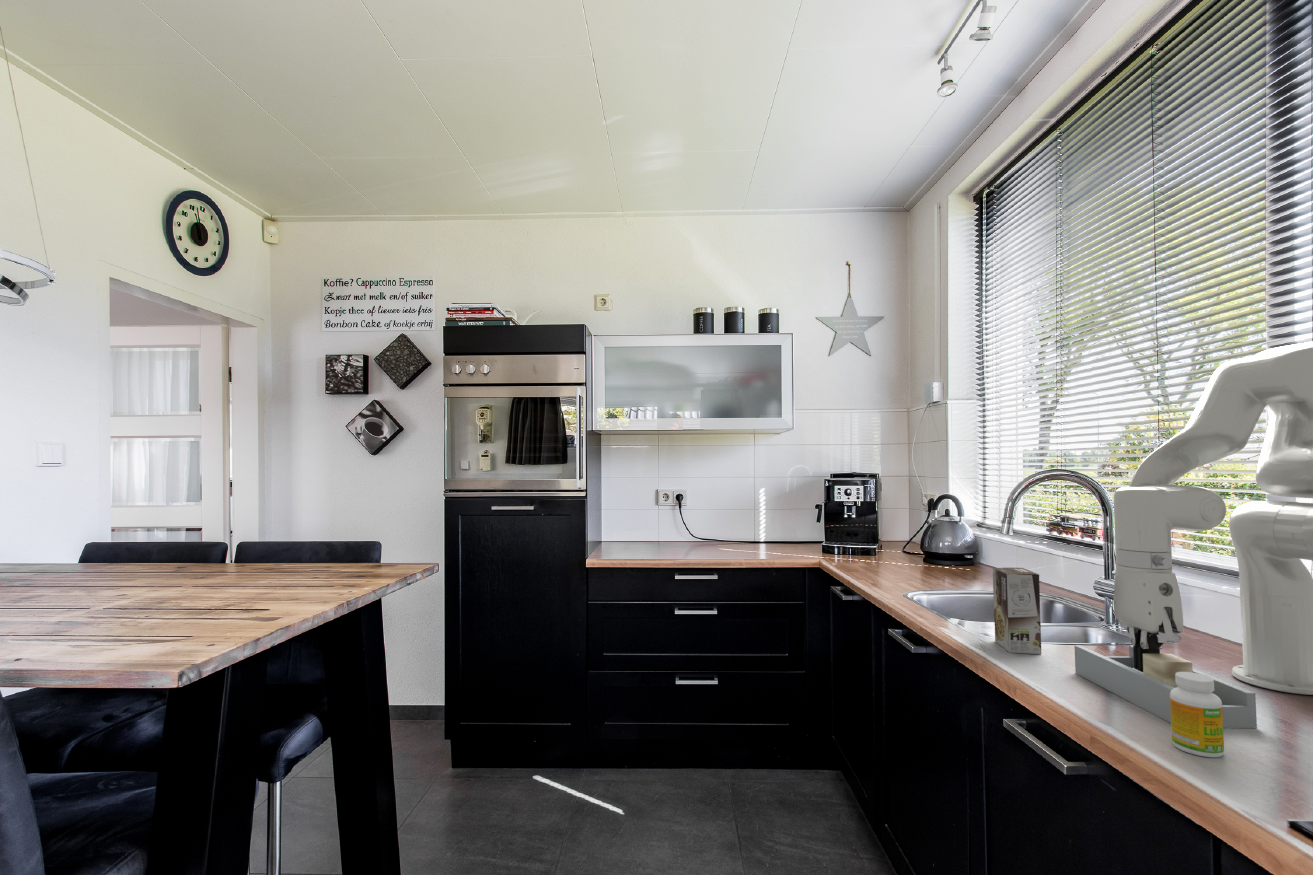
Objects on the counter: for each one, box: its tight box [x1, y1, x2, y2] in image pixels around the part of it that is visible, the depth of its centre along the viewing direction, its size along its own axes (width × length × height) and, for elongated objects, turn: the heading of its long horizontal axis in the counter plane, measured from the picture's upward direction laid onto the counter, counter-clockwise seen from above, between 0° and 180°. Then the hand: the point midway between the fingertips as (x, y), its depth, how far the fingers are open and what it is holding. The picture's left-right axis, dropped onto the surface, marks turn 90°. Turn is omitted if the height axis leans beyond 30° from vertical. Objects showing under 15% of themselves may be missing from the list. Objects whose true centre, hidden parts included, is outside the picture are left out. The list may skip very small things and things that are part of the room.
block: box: [1143, 653, 1194, 688], centre depth 100 cm, size 4×4×4 cm
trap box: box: [1074, 644, 1258, 729], centre depth 103 cm, size 11×24×5 cm, turn 178°
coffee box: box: [992, 567, 1042, 655], centre depth 132 cm, size 9×6×16 cm
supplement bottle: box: [1170, 672, 1225, 759], centre depth 85 cm, size 5×5×10 cm
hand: (1147, 670), depth 105 cm, fingers closed
